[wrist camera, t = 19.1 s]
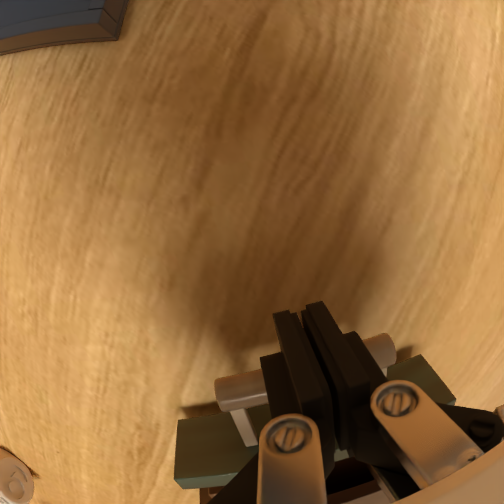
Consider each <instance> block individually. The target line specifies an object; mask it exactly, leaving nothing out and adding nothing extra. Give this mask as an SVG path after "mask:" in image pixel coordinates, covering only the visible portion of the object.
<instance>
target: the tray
mask: <svg viewBox="0 0 504 504" xmlns="http://www.w3.org/2000/svg"><path fill="white" fill-rule="evenodd" d="M128 2H129V0H0V55H4V54H8V53H13V52H18V51H23V50H28V49H34V48H40V47H47V46H54V45H62V44H71V43H81V42H95V41H116V40H118V37H119V33H120V30H121V26H122V22H123V19H124V15H125V12H126V8H127V5H128Z"/></svg>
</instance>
